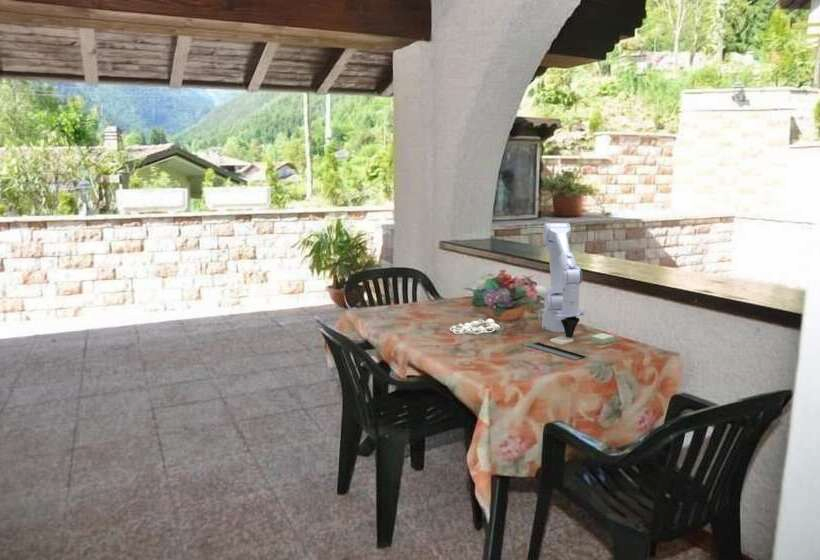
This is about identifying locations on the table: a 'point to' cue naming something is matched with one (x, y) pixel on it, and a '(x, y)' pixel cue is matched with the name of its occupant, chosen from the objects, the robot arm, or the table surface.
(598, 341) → the tile sage
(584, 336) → the board
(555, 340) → the tile cream
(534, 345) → the mat
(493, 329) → the tangled rod sculpture
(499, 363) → the table surface
